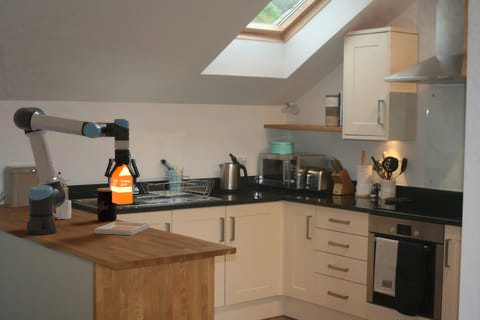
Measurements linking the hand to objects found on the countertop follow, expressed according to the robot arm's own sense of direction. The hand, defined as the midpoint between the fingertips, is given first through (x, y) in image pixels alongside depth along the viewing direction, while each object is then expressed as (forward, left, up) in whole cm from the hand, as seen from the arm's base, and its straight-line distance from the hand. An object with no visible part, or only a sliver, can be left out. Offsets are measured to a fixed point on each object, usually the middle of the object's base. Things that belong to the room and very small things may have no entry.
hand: (122, 190), depth 358 cm
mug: (+26, +50, -21) cm, 60 cm away
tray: (0, 0, -21) cm, 21 cm away
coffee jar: (+28, +22, -21) cm, 41 cm away
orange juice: (0, 0, -6) cm, 6 cm away
